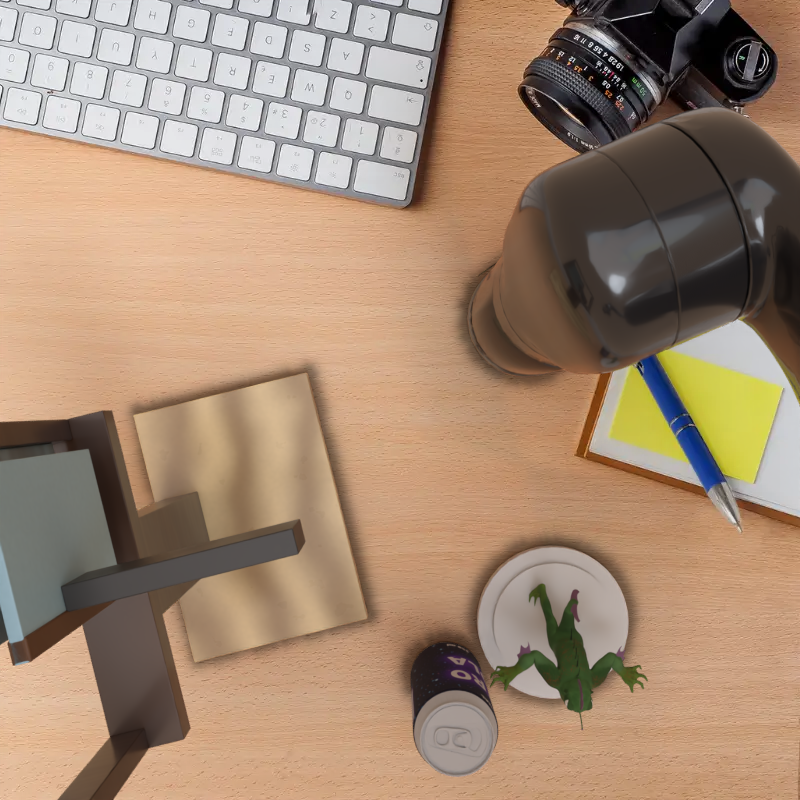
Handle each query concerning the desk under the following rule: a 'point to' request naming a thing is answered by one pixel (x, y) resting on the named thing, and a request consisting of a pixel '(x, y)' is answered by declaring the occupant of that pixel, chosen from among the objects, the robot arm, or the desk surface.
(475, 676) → the beverage can
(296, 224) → the desk surface
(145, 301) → the desk surface
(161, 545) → the window frame
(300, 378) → the light brown wooden board
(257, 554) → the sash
